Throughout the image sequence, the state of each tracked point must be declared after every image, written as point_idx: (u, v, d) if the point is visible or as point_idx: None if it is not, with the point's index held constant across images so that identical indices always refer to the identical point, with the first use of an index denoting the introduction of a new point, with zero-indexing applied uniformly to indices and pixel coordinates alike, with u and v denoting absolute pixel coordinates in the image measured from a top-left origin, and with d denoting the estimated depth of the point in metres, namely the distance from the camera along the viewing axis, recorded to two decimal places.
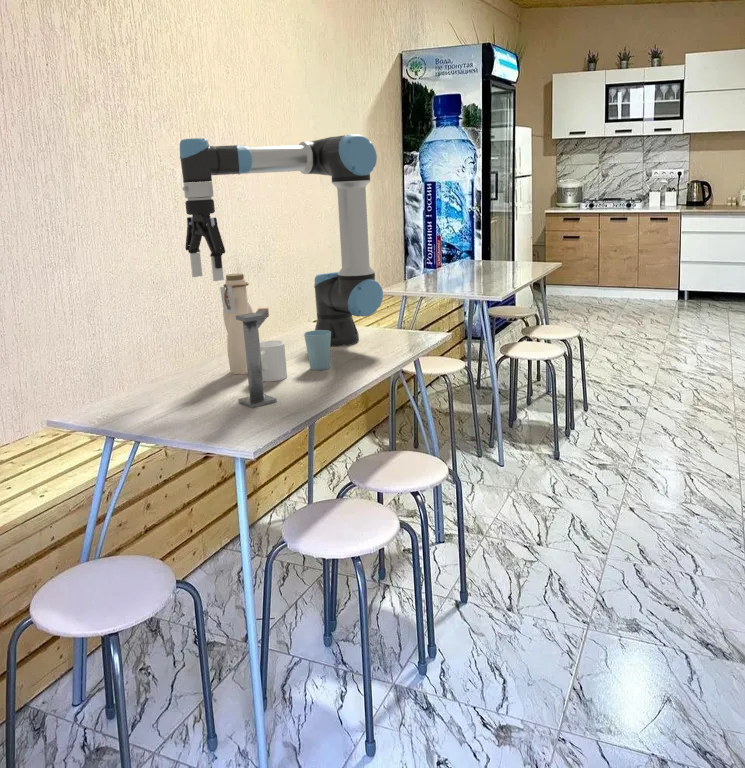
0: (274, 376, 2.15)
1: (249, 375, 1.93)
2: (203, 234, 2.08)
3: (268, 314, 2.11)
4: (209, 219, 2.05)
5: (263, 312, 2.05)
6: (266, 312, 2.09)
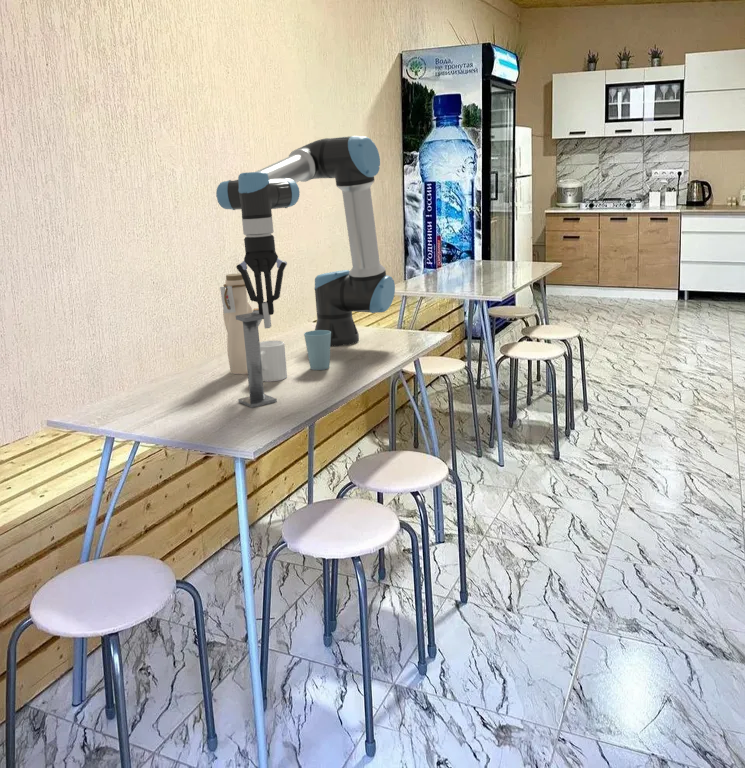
0: (274, 376, 2.15)
1: (249, 375, 1.93)
2: None
3: None
4: None
5: None
6: None
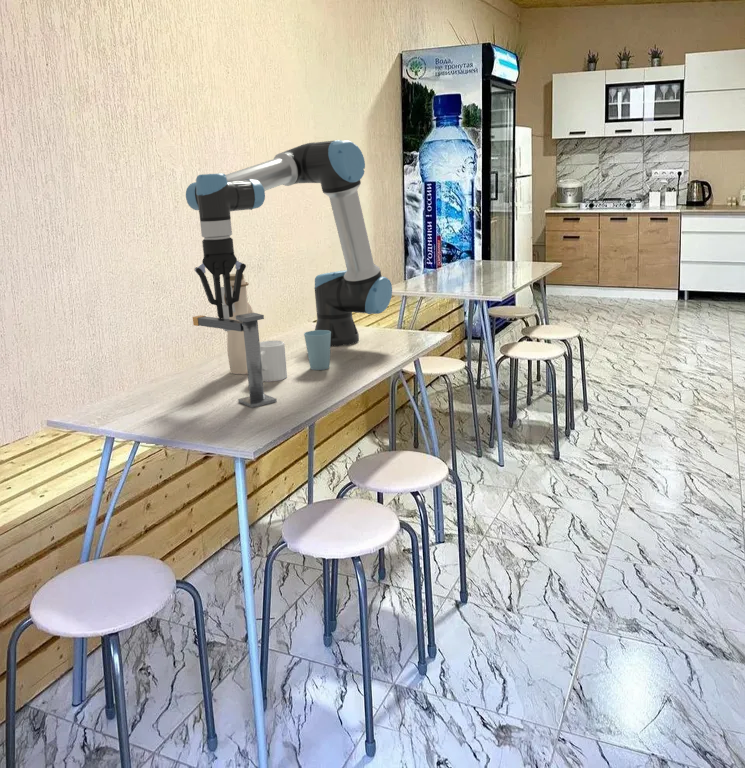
0: (274, 376, 2.15)
1: (249, 375, 1.93)
2: None
3: None
4: (195, 270, 1.97)
5: None
6: None
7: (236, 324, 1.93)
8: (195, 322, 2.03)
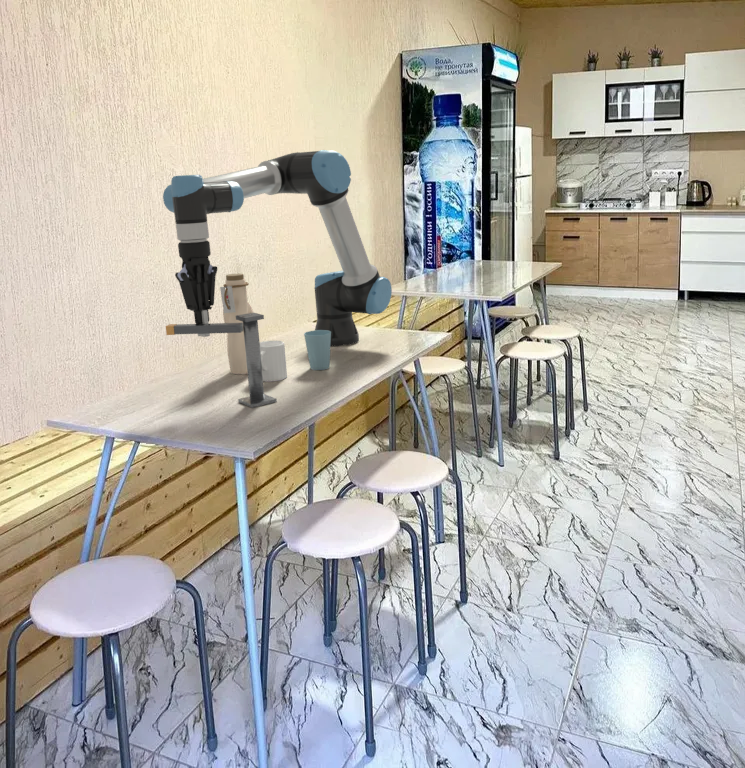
0: (274, 376, 2.15)
1: (249, 375, 1.93)
2: None
3: None
4: (176, 275, 1.88)
5: (193, 324, 1.94)
6: None
7: (233, 326, 1.91)
8: (170, 331, 1.93)
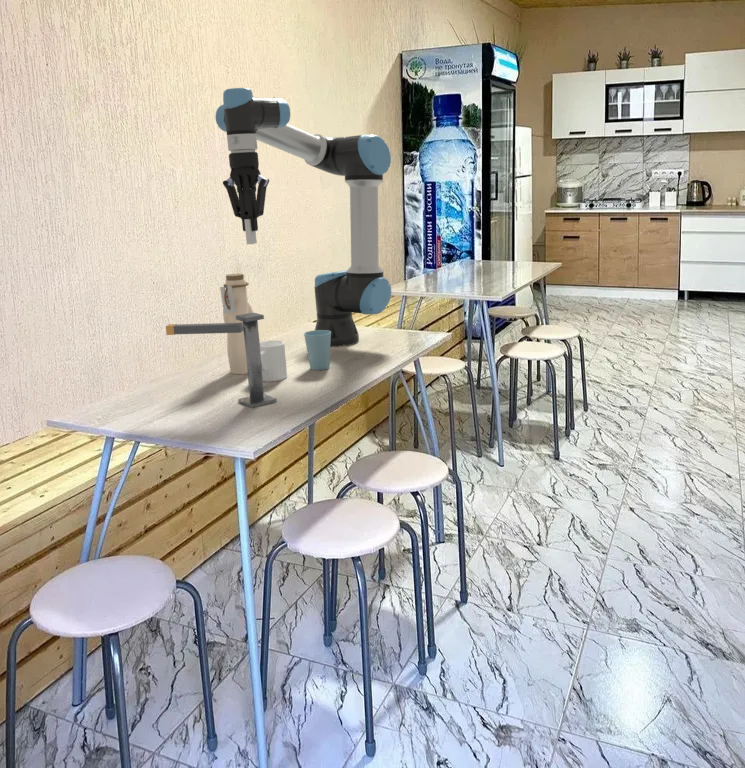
0: (274, 376, 2.15)
1: (249, 375, 1.93)
2: (248, 191, 2.04)
3: None
4: (265, 181, 2.03)
5: (193, 324, 1.94)
6: None
7: (233, 326, 1.91)
8: (170, 331, 1.93)
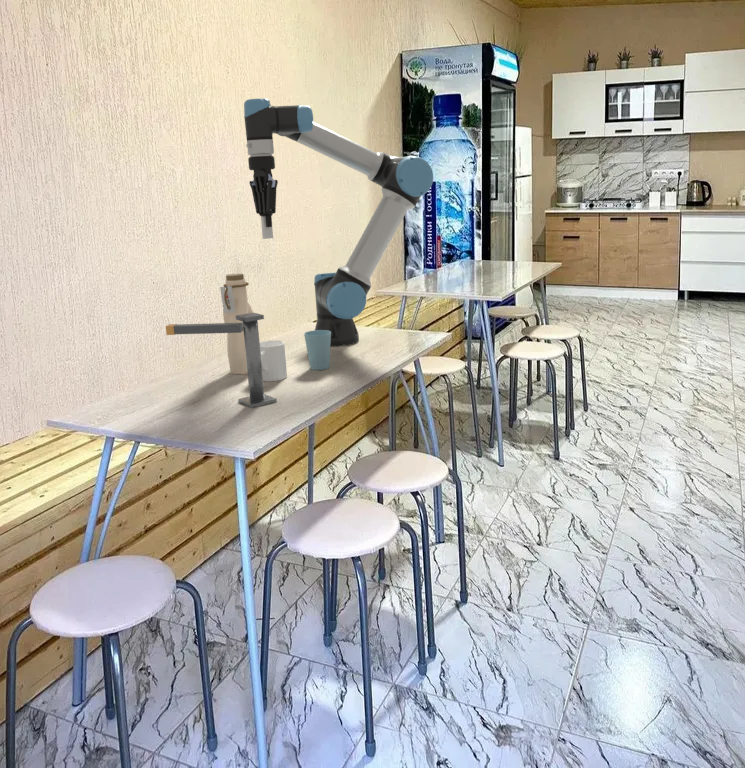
0: (274, 376, 2.15)
1: (249, 375, 1.93)
2: (261, 191, 2.28)
3: None
4: (271, 182, 2.24)
5: (193, 324, 1.94)
6: None
7: (233, 326, 1.91)
8: (170, 331, 1.93)
